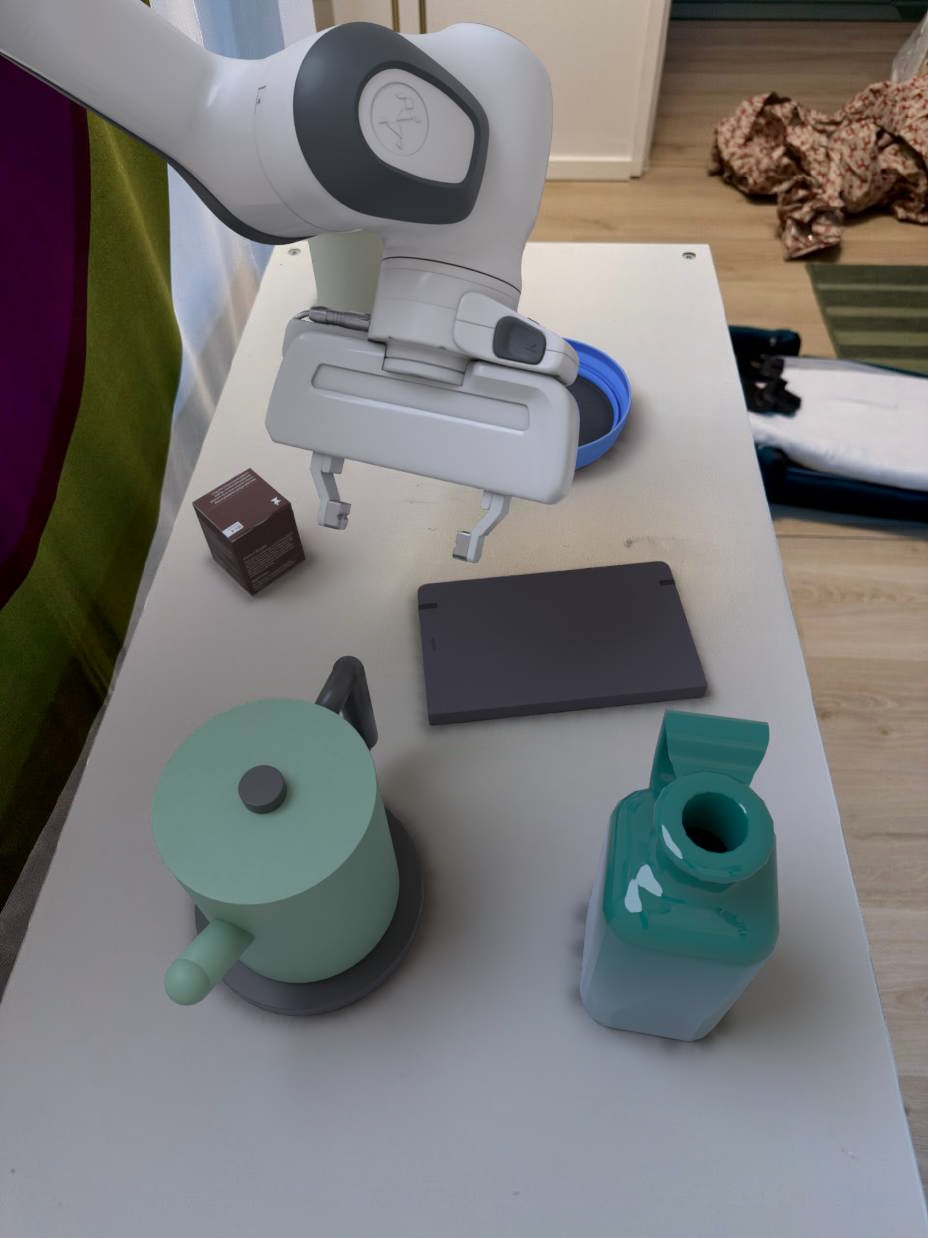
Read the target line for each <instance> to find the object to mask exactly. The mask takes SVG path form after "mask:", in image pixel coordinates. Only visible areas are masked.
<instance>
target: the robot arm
mask: <svg viewBox="0 0 928 1238" xmlns="http://www.w3.org/2000/svg"><path fill="white" fill-rule="evenodd" d="M0 56H1V57H3V58H4V59H6V60H7V61H9V62H11V63H12V64H14V65H15V66H17V67H19V68H20V69H22V70H23V71H25V72H26V73H28V74H30V75H31V76H33V77H34V78H36V79H38V80H39V81H40V82H42V83H44V84H46V85H47V86H48V87H51V88H52V89H54V90H55V91H57V92H58V93H60V94H62V95H63V96H65V97H66V98H67V99H69V100H71V101H73V102H74V103H76V104H77V105H79V106H81V107H83V108H84V109H86V110H87V111H89V112H90V113H92V114H94V115H95V116H97V117H98V118H99V119H101V120H103V121H104V122H106V123H108V124H109V125H110V126H113V128H115V129H117V130H118V131H120V132H122V133H124V134H125V135H127V136H128V137H130V138H132V139H133V140H135V141H136V142H138V143H139V144H141V145H142V146H144V147H145V148H147V149H148V150H150V151H151V152H153V153H154V154H156V155H157V156H158V157H159V158H161V159H162V160H163V161H164V162H165V163H166V164H168V165H169V166H170V167H171V168H172V169H173V170H174V171H175V172H176V173H177V174H178V175H179V176H180V177H181V178H182V180H183V181H185V183H186V184H187V185H188V186H189V187H190V189H191V190H192V191H193V192H194V193H195V195H196V196H197V197H198V198H199V200H200V201H201V202H202V203H203V204H204V206H206V208H207V209H208V210H209V211H210V212H211V213H212V214H213V215H214V216H215V217H216V218H217V219H218V220H219V221H220V222H221V223H222V224H224V226H226V227H227V228H228V229H230V230H231V231H232V232H233V233H236V234H237V235H239V236H240V237H242V238H245V239H247V240H249V241H252V242H254V243H258V244H262V245H266V246H267V245H268V246H285V245H291V244H295V243H298V242H301V241H304V240H308V238H311V237H314V236H317V235H323V234H332V233H341V232H349V231H354V230H357V229H363V230H366V231H368V232H371V233H374V234H376V235H378V236H379V237H380V238H381V240H382V242H383V246H384V251H383V256H382V262H381V267H380V272H379V277H378V283H377V288H376V293H375V298H374V304H373V309H372V314H364V313H359V312H353V311H339V310H334V309H332V308H330V307H326V306H319V304H317V305H311V306H310V307H309V309H306V310H302V311H300V312H298V313H297V314H295V315H294V316H293V317H292V318H291V319H289V321H288V322H287V324H286V328H285V331H284V335H283V336H284V337H283V342H282V348H281V356H282V360H281V361H280V362H281V363H280V365H279V368H278V370H277V374H276V377H275V380H274V382H273V383H274V384H273V386H272V390H271V393H270V397H269V401H268V404H267V409H266V413H265V420H264V426H265V429H266V431H267V433H268V435H269V438H270V439H271V441H272V442H273V443H275V444H279V445H282V446H283V445H284V446H288V447H291V448H292V447H293V448H296V449H301V450H305V451H309V452H312V454H311V461H310V466H309V471H310V475H311V476H312V481H313V484H314V487H315V489H316V492H317V495H318V498H319V499H320V502H319V508H318V509H319V510H318V514H317V519H316V522H317V523H316V524H317V525H318V526H321V527H324V528H329V529H332V530H337V531H341V530H343V531H344V530H346V529H347V526H348V524H349V518H348V516H349V515H350V514H351V508H352V503H350V502H345V501H342V499H341V496H340V493H339V489H338V484H337V482H336V478H335V475H341V474H342V473H343V469H344V463H345V460H350V461H354V462H359V463H362V464H367V465H371V466H375V467H380V468H385V469H389V470H393V471H398V472H402V473H406V474H411V475H416V476H420V477H425V478H429V479H433V480H437V481H443V482H447V483H451V484H454V485H455V484H456V485H460V486H464V487H468V488H474V489H478V490H483V492H482V498H481V501H480V508H481V509H483V510H487V513H486V514H484V515H483V517H482V518H481V519H480V521H478V523H477V524H476V525H475V526H474V528H472V530H471V531H467V530H462V531H461V530H458V531H457V532H456V535H455V540H454V543H455V547H453V549H452V559H455V560H458V561H462V562H466V563H470V564H479V563H480V560H481V558H482V553H483V549H484V546H485V545H484V544H485V540H486V537H488V536H489V535H490V534H491V533H492V532H493V531H494V529H495V528H496V527H497V526H498V525H500V523H501V522H502V521H503V520H504V519H505V518H506V516H508V514H509V511H510V506H511V502H512V498H517V499H521V500H526V501H531V502H535V503H539V504H544V505H549V506H552V505H555V506H556V505H557V504H559V503H560V502H561V501H563V500H564V499H565V498H566V497H567V496H569V494H570V492H571V490H572V485H573V481H574V476H575V471H576V470H575V465H576V458H577V450H578V441H579V426H580V416H579V409H578V405H577V402H576V400H575V398H574V397H573V395H572V394H571V393H570V392H569V391H568V390H567V388H566V387H565V386H569V385H571V384H572V383H573V382H574V381H575V379H576V377H577V374H578V369H579V357H578V355H577V353H576V351H575V350H574V348H573V347H572V346H571V345H570V344H569V343H568V342H567V341H565V340H564V339H563V338H564V337H563V338H561V337H562V336H560V335H559V334H557V333H555V332H553V331H552V330H550V329H548V328H546V327H544V326H542V325H541V324H540V323H539V322H537V321H536V320H534V319H532V318H530V317H526V316H525V315H523V314H520V313H519V312H518V309H519V304H520V301H521V295H522V289H523V276H522V264H523V263H522V262H523V257H524V256H523V255H524V253H525V249H526V246H527V243H528V240H529V239H530V236H531V235H532V234H533V231H534V229H535V227H536V224H537V221H538V217H539V213H540V208H541V205H542V198H543V193H544V190H545V189H544V188H545V184H546V179H547V173H548V167H549V162H550V154H551V147H552V139H553V126H554V98H553V91H552V83H551V79H550V75H549V73H548V70H547V69H546V66H545V65H544V63H543V61H542V60H541V58H539V56H538V55H537V54H535V52H533V50H532V49H530V47H529V46H527V45H526V44H525V43H524V42H522V41H521V40H520V39H517V38H516V37H515V36H513V35H512V34H509V33H508V32H506V31H503V30H502V29H500V28H496V27H495V26H491V25H487V24H484V23H479V22H459V23H454V24H451V25H449V26H447V27H446V28H444V29H442V30H439V31H435V32H428V33H420V34H416V33H414V34H413V33H403V32H397V31H395V30H393V29H392V28H390V27H387V26H385V25H382V24H380V23H379V24H378V23H375V22H369V21H351V22H347V23H342V24H338V25H333V26H331V27H328V28H325V29H323V30H320V31H318V32H316V33H313V34H311V35H309V36H307V37H305V38H303V39H301V40H298V41H296V42H294V43H292V44H290V45H288V46H287V47H285V48H284V49H282V50H279V51H278V52H276V53H273V54H271V55H269V56H267V57H265V58H260V59H245V58H244V59H243V58H242V59H241V58H233V57H229V56H224V55H220V54H217V53H215V52H212V51H211V50H208V49H206V48H204V47H203V46H202V45H200V44H199V43H197V42H196V41H194V40H193V39H192V38H191V37H190V36H188V35H186V34H185V33H184V32H183V31H181V30H180V29H179V28H178V27H176V26H175V25H173V23H171V22H169V21H168V20H167V18H164V17H163V16H162V15H160V14H159V13H158V12H157V11H155V10H154V9H153V8H151V7H150V6H149V5H148V4H146V3H144V2H143V1H142V0H0ZM305 318H308V319H309V320H305ZM332 325H336V326H340V327H336V326H332ZM342 327H343V328H342Z"/></svg>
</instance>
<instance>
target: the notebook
mask: <svg viewBox="0 0 928 1238" xmlns="http://www.w3.org/2000/svg"><path fill="white" fill-rule="evenodd" d="M417 609H418V618H419V628H420V639H421V649H422V660H423V671H424V683H425V694H426V704H427V716H428V723H429V726H434V725H435V726H436V725H444V724H453V723H464V722H472V721H482V720H491V719H493V720H494V719H501V718H502V719H503V718H510V717H511V718H512V717H521V716H529V715H539V714H548V713H558V712H559V713H560V712H568V711H569V712H570V711H578V710H588V709H597V708H598V709H599V708H605V707H606V708H607V707H616V706H617V707H618V706H625V705H636V704H644V703H646V704H647V703H653V702H654V703H655V702H665V701H674V700H683V699H692V698H693V699H694V698H703V697H705V695H706V692H707V689H708V682H707V679H706V676H705V673H704V670H703V667H702V663H701V661H700V657H699V654H698V651H697V648H696V645H695V642H694V638H693V635H692V631H691V629H690V626H689V622H688V619H687V616H686V613H685V610H684V608H683V604H682V600H681V597H680V595H679V591H678V588H677V584H676V581H675V579H674V576H673V572H672V569H671V567H670V565H669V564H668V563H667V562H665V561H662V560H652V561H645V562H634V563H623V564H612V565H602V566H593V567H583V568H582V567H581V568H573V569H563V570H553V571H542V572H534V573H533V572H531V573H521V574H511V575H510V574H509V575H501V576H500V575H499V576H491V577H481V578H471V579H459V580H451V581H441V582H430V583H424V584H421V585H420V586H419V587H418V589H417Z"/></svg>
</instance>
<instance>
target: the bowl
mask: <svg viewBox="0 0 928 1238" xmlns="http://www.w3.org/2000/svg"><path fill="white" fill-rule="evenodd" d="M560 337H561V338H563V339H564V340H565V341H567V342H568V343H569V344H570V345H571V346H572V347H573V348H574V350H575V351H576V353H577V355H578V357H579V369H578V374H577V377H576V379H575V381H574V382H573V383H572V384H571V385H569V386H565V387H566V388H567V390H568V391H569V392H570V393H571V394H572V395H573V397H574V398H575V400H576V402H577V405H578V409H579V416H580V426H579V441H578V450H577V458H576V465H575V471H576V470H579V469H581V468H584V467H586V466H588V465H590V464H592V463H593V462H595V461H596V460H598V459H600V458H601V457H603V455H605V454H606V453H607V452H608V451H609V450H610V449H611V448H612V447H613V446H614V445H615V443H616V442H617V440H618V438H619V436H620V434H621V432H622V431H623V429H624V427H625V425H626V423H627V421H628V418H629V416H630V412H631V407H632V389H631V383H630V381H629V378H628V375H627V373H626V372H625V370H624V368H622V366H621V365H620V364H619V363H618V362H617V361H616V360H615V359H614V358H613V357H611V356H610V355H608V354H607V353H606V352H604V351H603V350H601V349H600V348H599V349H598V348H597V347H596V346H593V345H590V344H587V343H585V342H582V341H579V340H576V339H572V338H568V337H563V336H560Z"/></svg>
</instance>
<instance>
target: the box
mask: <svg viewBox="0 0 928 1238" xmlns="http://www.w3.org/2000/svg"><path fill="white" fill-rule="evenodd" d="M191 505H192V507H193V510H194V512H195V515H196V517H197V520H198V523H199V525H200V528H201V530H202V533H203V536H204V538H205V541H206V543H207V546H208V549H209V551H210V554H211V557H212V559H213V560H214V561H215V562H216V564H217V565H219V567H221V568H222V569H223V570H224V571H225V572H226V573H227V574H228V575H229V576H230V577H231V578H232V579H233V580H234V581H235V582H236V583H237V584H238V585H240V587H241V588H243V590H244V591H245V592H246V593H247V594H248V595H250V596H252V597H253V596H255V595H256V594H257V593H259V592H261V591H262V590H263V589H265V588H266V587H267V586H269V585H271V584H272V583H273V582H275V581H276V580H279V578H281V577H283V576H284V575H285V574H287V573H289V572H290V571H291V570H293V569H294V568H296V567H297V566H299V565H300V564H302V563H303V562H305V561H306V560H307V557H306V553H305V550H304V546H303V543H302V540H301V535H300V532H299V529H298V525H297V521H296V517H295V512H294V509H293V506H292V502H291V501H290V500H288V499H287V498H286V497H285V496H284V495H282V494H281V493H280V492H279V491H278V490H276V488H274V487H273V486H271V484H269V482H267V481H266V479H264V478H263V477H261V476H260V475H259V474H258V473H257V472H256V471H255V470H253V468H251V467H248V468H247V469H245V470H244V471H242V472H241V473H239V474H237V475H235V476H234V477H232V478H231V479H229V480H227V481H225V482H224V483H222V484H221V485H219V486H217V487H216V488H214V489H212V490H211V491H209V492H207V493H206V494H204V495H202V496H201V497H199V498H197V499H196V500H193V501H192V502H191Z"/></svg>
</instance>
